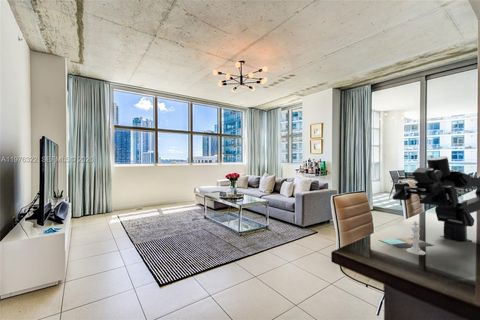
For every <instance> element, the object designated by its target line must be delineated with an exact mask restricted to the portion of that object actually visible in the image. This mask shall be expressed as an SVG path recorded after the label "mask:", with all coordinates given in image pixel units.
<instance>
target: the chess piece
mask: <svg viewBox="0 0 480 320" xmlns="http://www.w3.org/2000/svg"><path fill="white" fill-rule="evenodd" d="M411 225H412V227H411V230H412V234H411V237H413V238H414V239H413V246H412V247H411V248H406V252H408V253H410V254H413V255H419V256H424V255H426V252H425V251H423V250H422V249H421V247H419V244H418V240H419V239H418V238H420V237H421V235H420V234H419V233H420V232H419V231H420V227H418V226H419V225H420V224H419V223H417V221H416V220H415V221H413V222H412V223H411Z"/></svg>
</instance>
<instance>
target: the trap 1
mask: <svg viewBox="0 0 480 320" xmlns="http://www.w3.org/2000/svg"><path fill="white" fill-rule="evenodd" d="M393 246H396V247H398V248H405V249H409V248H411V247H412V246H413V245H410V244H397V245H393ZM393 246H392V247H393ZM396 247H395V248H396ZM398 248H397V249H398Z"/></svg>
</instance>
